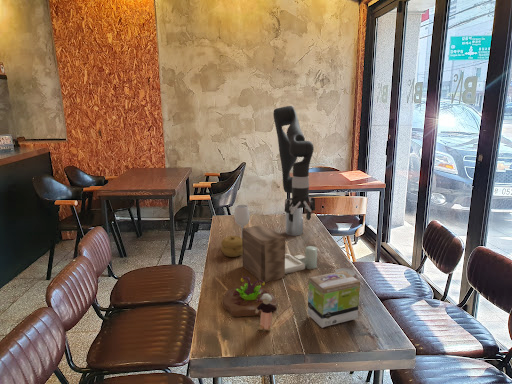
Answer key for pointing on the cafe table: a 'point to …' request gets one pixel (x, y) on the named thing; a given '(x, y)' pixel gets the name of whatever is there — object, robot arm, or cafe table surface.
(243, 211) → the wineglass
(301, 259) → the tray
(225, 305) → the plant
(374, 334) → the cafe table surface
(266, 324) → the grandmother figurine
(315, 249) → the pale green rounded cylinder
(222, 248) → the pot
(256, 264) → the wood grain block
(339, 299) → the tea box
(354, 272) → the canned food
